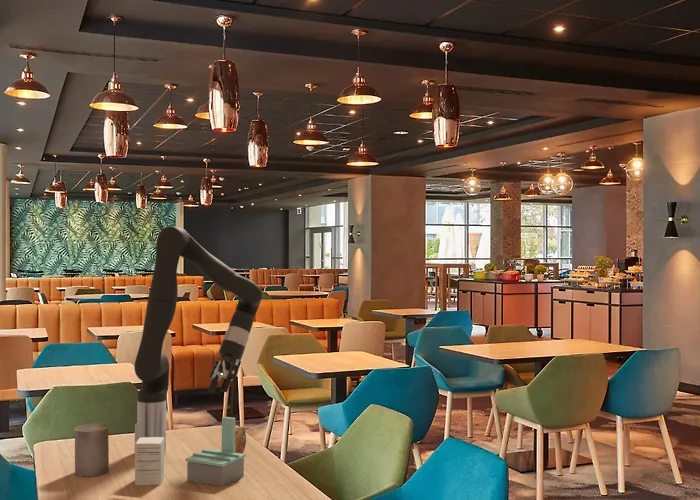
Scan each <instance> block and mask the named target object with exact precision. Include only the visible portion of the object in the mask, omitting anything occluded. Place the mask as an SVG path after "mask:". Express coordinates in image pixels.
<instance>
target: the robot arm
mask: <svg viewBox="0 0 700 500" xmlns="http://www.w3.org/2000/svg"><path fill="white" fill-rule="evenodd" d="M155 249H156V251H155V262H154V263H155V265H154V270H153V275H152V278H151V284H150V288H149V293H148V297H147V298H148V299H147V304H146V309H145V310H146V311H145V317H144V322H143V327H142V328H143V329H142V335H141V339H140V344H139V347H138V350H137V354H136V357H135V360H134V366H133V367H134V373H135V376H136V378H138V379H139V380H140V381H141V386H140V389H139V390H138V393H137V406H136V407H137V415H136V416H137V421H136V423H134V444H135V443H136V442H137V441H138V439H139V438H141V437H164V454H165V453H166V451H167V450H166V449H167V395H168V390H169V388H170V387H169V385H170V383H169V381H170V362H169V359H168V356H167V355H166V354H165V353H164V352H163V351H162V350H163V343H164V341H165V338H166V335H167V333H168V330H169V329H170V327H171V324H172V322H173V320H174V317H175V313H176V310H177V309H176V308H177V304H178V302H177V301H178V295H179V289H178V276H177V274H178V273H177V272H178V265H179V261H180V257H181V258H183V259H185V260H187V261H188V262H190V263H192V265H194V266H195V267H196V268H197V269H198V270H200V272H201V273H203V275H204V276H205V277H206V278H208V280H210V281H211V282H213V284H215V285H216V286H218V287H219V288H220V289H222V290H224V291H225V292H227V293H232V294H234V295H235V296H237V297H238V298H239V299H238V301H237V304H236V308H235V312H234V313H233V314H232V317H231V320H230V322H229V325H228V327H227V330H226V332H225V334H224V337H223V339H222V342H221V344H220V347H219V349H218V354H219V356H221V358H220V359H219V360H217V359H215V361H214V364H213V366H212V369H211V371H210V374H209V377H208V378H210V380H211V381H210V383H209V387H208V389H207V390H208V391H207V392H210V393H213V394H215V393H216V390H217V388H218V385H219V383H220V380H221V379H222V378H223V380H222V383H221V385H220V387H219V390H220V391H221V392H223V393H227V392H228V390H229V388H230V384H231V382H232V381H233V380H235V379H236V378H237V376H238V372H239V369H240V367H241V363H242V358H243V356H244V352H245V350H246V348H247V344H248V341H249V338H250V337H249V336H250V333H251V332H252V331H251V330H252V328H253V324H254V320H255V317H256V314H257V312H258V309H259V306H260V304H261V302H262V299H263V291H262V289H261V287H260V286H259V285H258V284H257V283H256V282H254V281H252V280H250V279H249V278H247V277H244V276H242V275H240V274H239V273H238V272H236V271H235V270H233V268H232V267H229V266H228V265H227V264H225V262H223V261H221V260H220V259H218V258H217V257H215V256H214V255H212V254H211V253H210V252H209V251H207V250H206V249H205V248H204V247H203V246H201V244H200V243H198V242H197V241H196V240H195V239H194V238H193V237H192V236H191V234H189V232H188V231H186V229H184V228H183V227H180V226H176V225H175V226H174V225H169V226H165V227H164V228H163V229H161V230H160V231H159V233H158V235H157V237H156V248H155Z"/></svg>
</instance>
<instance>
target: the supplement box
mask: <svg viewBox="0 0 700 500" xmlns="http://www.w3.org/2000/svg"><path fill="white" fill-rule="evenodd" d="M164 479H165V453H164V437H141V438H139V439H138V441H137V442H136V443H135V442H134V485H135V486H160V485H162V483H163V482H164Z"/></svg>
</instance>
